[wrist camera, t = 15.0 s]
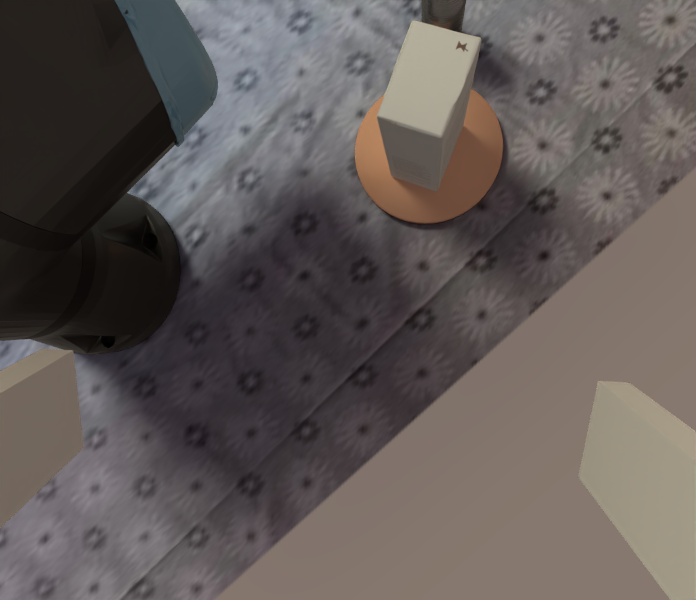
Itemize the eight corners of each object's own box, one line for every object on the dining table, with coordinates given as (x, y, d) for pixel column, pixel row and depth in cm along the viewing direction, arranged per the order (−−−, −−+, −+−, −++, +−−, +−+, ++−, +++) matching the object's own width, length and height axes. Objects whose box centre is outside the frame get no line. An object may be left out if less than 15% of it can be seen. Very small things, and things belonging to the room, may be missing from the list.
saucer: (334, 192, 39) (332, 189, 38) (391, 62, 38) (390, 57, 38) (463, 246, 37) (465, 245, 36) (525, 111, 37) (528, 107, 36)
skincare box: (414, 109, 37) (412, 14, 25) (464, 124, 36) (485, 35, 25) (388, 178, 37) (373, 116, 26) (436, 195, 37) (445, 139, 25)
